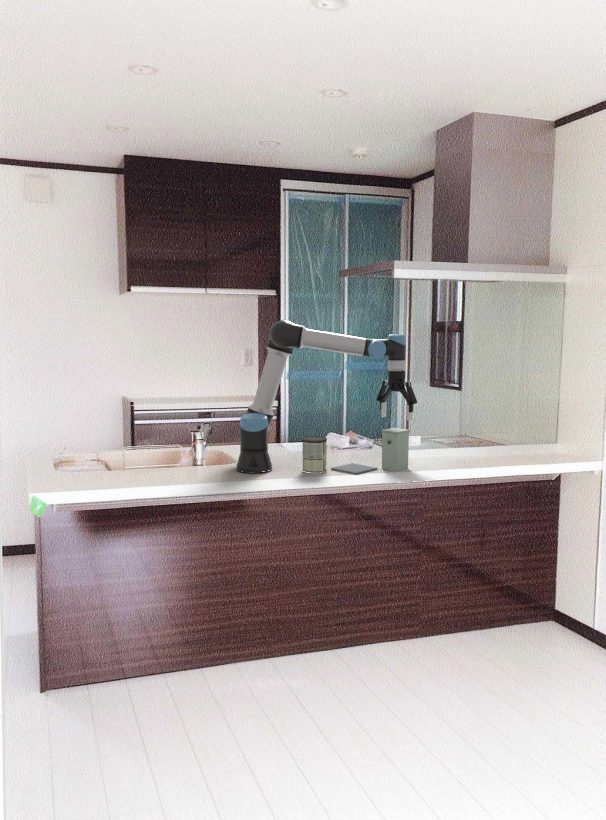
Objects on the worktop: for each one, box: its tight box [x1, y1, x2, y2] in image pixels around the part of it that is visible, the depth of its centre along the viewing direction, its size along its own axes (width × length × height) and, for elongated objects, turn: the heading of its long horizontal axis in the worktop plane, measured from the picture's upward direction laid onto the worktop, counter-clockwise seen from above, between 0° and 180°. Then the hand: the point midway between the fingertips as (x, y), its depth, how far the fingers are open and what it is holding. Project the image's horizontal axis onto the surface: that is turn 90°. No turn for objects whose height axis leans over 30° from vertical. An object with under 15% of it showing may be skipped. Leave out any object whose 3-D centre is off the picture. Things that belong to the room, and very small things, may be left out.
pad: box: [330, 463, 378, 475], centre depth 312 cm, size 14×14×1 cm
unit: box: [380, 427, 411, 472], centre depth 313 cm, size 9×9×17 cm
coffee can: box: [301, 435, 328, 474], centre depth 308 cm, size 10×10×14 cm
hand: (396, 418), depth 321 cm, fingers open, 13 cm apart
